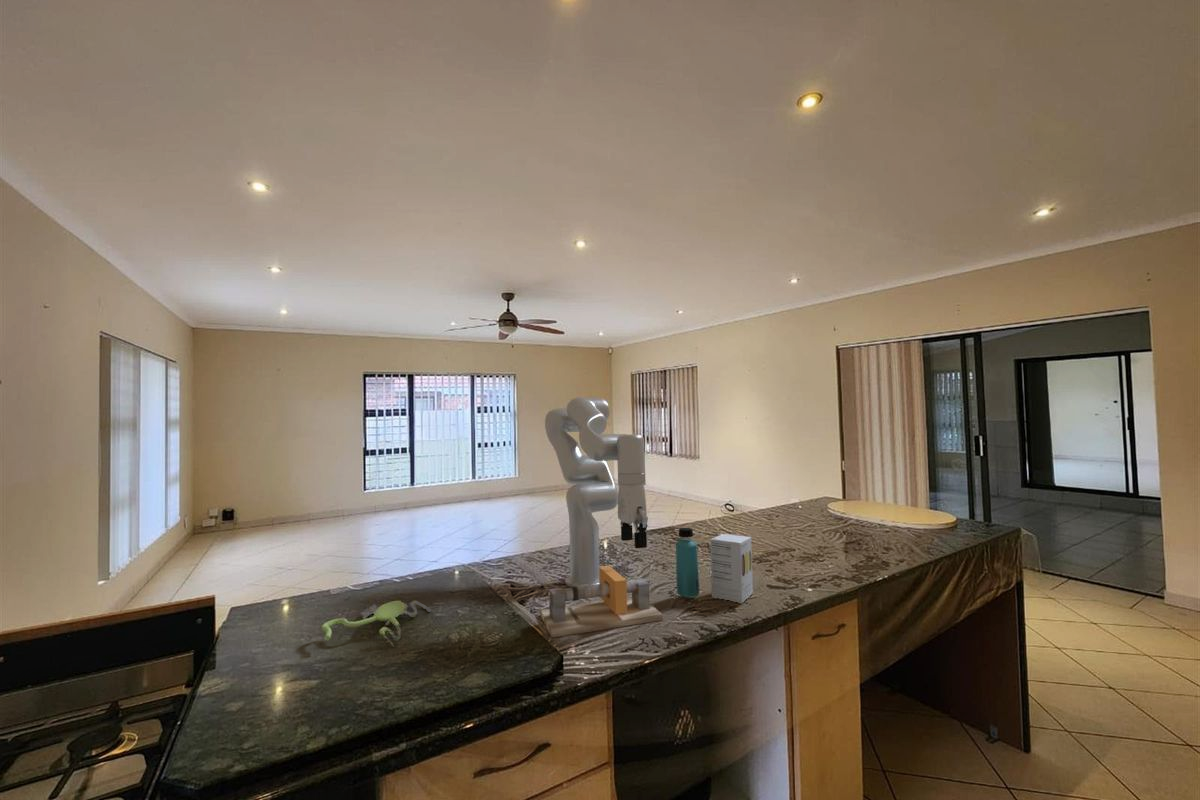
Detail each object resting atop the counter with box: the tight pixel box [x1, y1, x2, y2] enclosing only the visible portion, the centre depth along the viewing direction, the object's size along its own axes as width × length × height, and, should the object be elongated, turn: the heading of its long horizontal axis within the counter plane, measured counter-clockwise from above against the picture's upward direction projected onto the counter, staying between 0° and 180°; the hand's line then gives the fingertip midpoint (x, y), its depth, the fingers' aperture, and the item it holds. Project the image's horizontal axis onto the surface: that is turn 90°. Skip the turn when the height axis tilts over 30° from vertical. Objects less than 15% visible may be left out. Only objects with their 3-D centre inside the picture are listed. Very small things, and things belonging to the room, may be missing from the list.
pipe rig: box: [539, 577, 663, 639], centre depth 120 cm, size 14×29×9 cm, turn 108°
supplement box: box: [709, 533, 754, 604], centre depth 134 cm, size 10×9×17 cm
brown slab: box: [599, 565, 628, 614], centre depth 121 cm, size 13×3×8 cm, turn 18°
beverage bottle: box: [675, 527, 700, 598], centre depth 133 cm, size 6×7×20 cm
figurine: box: [321, 600, 405, 641], centre depth 116 cm, size 18×27×6 cm
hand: (633, 543), depth 124 cm, fingers open, 9 cm apart
